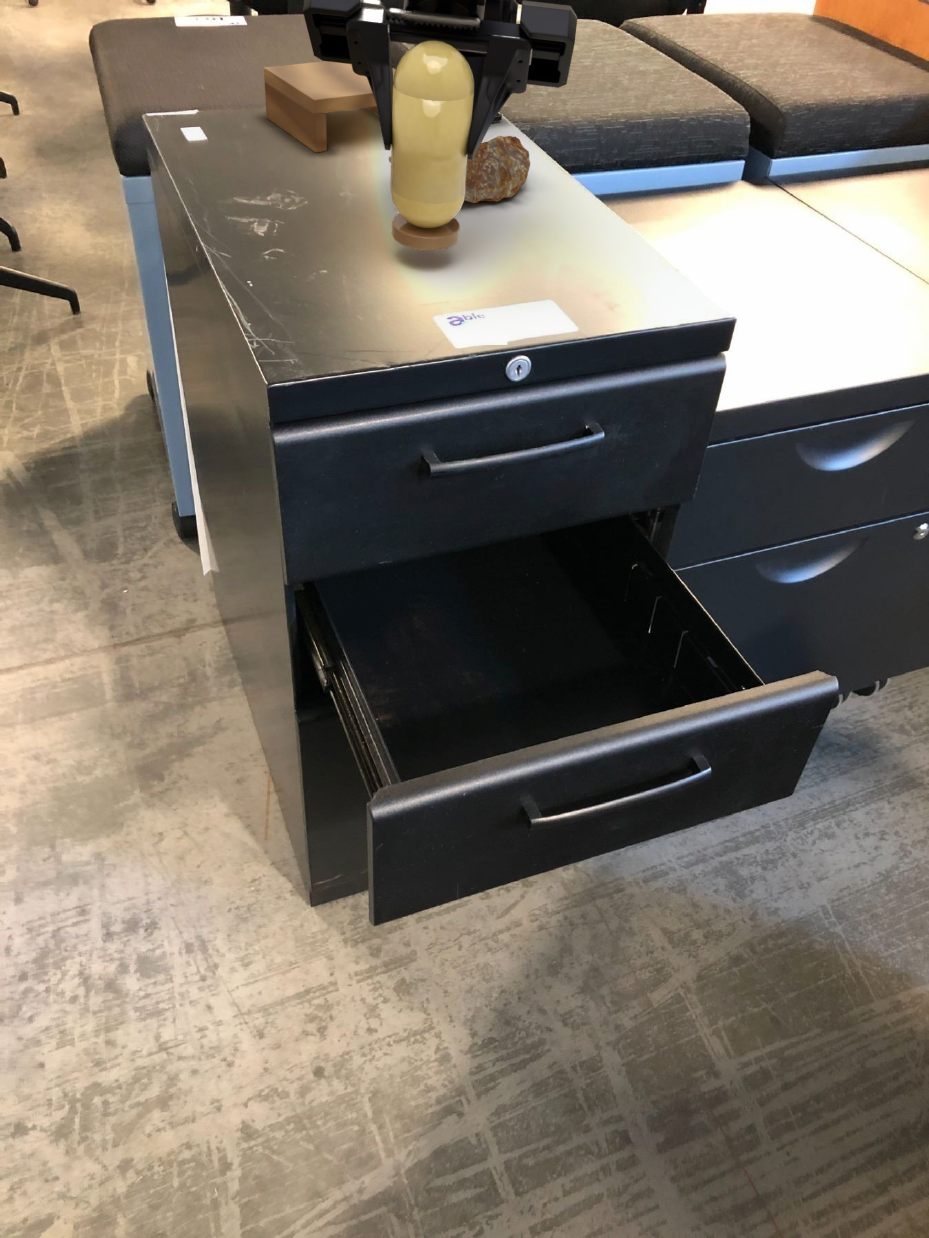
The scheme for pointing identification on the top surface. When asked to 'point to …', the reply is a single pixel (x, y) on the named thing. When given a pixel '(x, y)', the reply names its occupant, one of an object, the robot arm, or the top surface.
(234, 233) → the top surface
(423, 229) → the yellow capsule on stand
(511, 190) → the decorative stone
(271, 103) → the shelf
